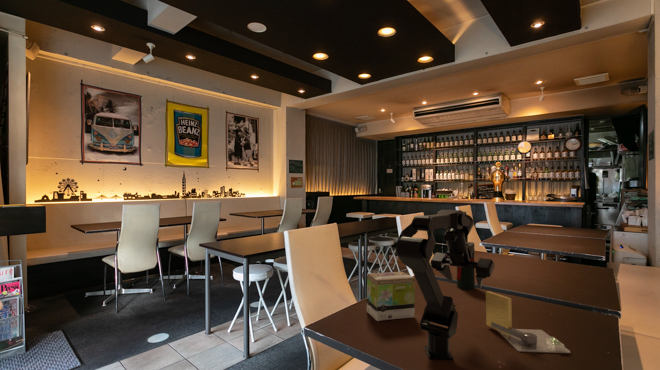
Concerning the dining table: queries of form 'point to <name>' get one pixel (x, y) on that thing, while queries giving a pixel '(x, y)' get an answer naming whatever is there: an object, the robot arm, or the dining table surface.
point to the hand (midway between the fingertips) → (465, 284)
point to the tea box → (390, 295)
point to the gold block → (504, 317)
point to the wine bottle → (466, 276)
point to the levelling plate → (543, 342)
